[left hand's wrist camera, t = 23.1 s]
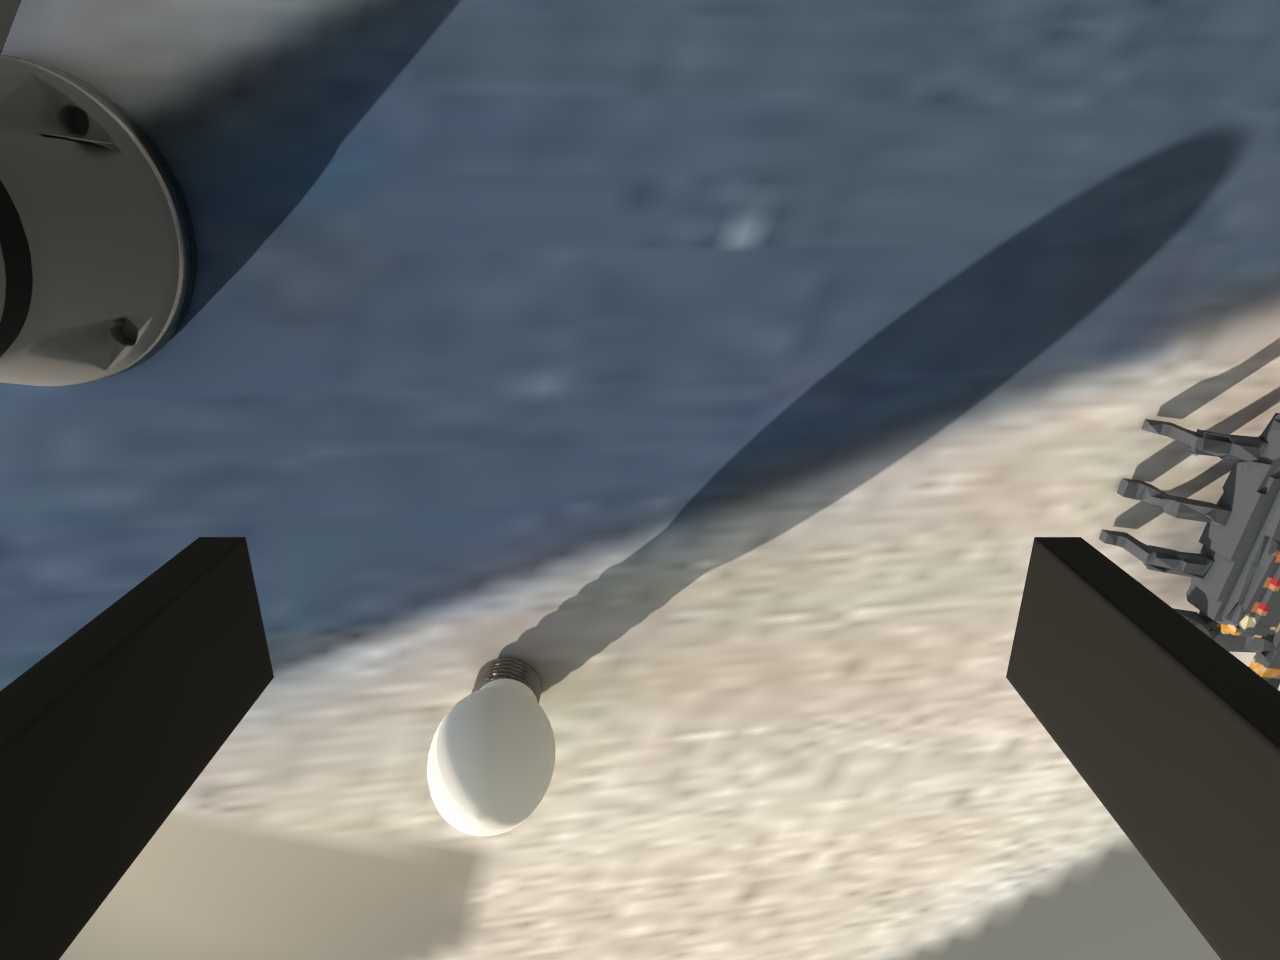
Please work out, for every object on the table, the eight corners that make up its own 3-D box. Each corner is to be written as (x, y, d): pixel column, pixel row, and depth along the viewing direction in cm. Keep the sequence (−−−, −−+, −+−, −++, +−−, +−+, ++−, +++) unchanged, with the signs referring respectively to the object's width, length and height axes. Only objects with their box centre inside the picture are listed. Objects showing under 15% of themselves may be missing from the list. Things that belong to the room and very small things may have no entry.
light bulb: (437, 691, 47) (381, 828, 37) (497, 617, 46) (455, 740, 35) (526, 744, 49) (496, 890, 39) (587, 674, 47) (572, 808, 37)
